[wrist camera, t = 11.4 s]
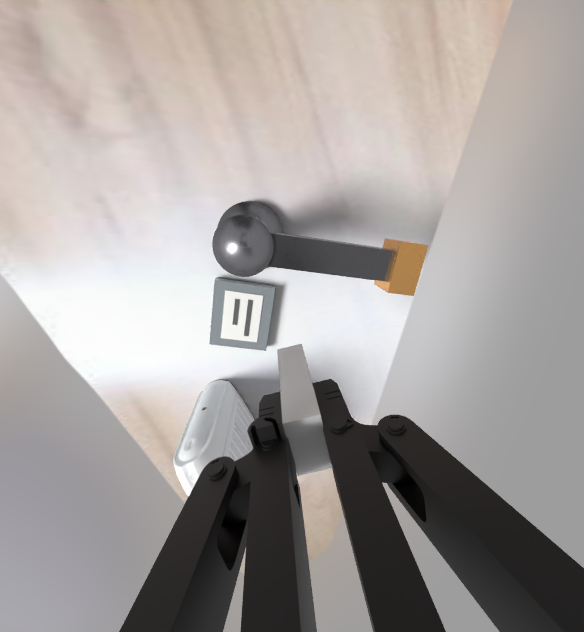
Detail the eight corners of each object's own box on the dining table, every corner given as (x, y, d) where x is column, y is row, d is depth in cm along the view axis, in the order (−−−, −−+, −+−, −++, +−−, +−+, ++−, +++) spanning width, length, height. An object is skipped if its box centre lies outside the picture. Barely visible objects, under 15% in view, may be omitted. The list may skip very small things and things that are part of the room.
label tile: (216, 277, 28) (214, 280, 27) (275, 286, 29) (275, 288, 28) (211, 340, 31) (209, 344, 30) (266, 346, 31) (265, 351, 30)
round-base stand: (220, 196, 26) (206, 189, 20) (289, 208, 27) (295, 206, 21) (215, 264, 28) (200, 278, 22) (279, 274, 29) (281, 289, 23)
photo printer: (195, 387, 33) (154, 482, 21) (228, 372, 32) (205, 460, 21) (237, 448, 36) (222, 559, 24) (267, 435, 36) (267, 541, 24)
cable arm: (217, 266, 21) (210, 273, 19) (220, 211, 20) (213, 210, 18) (396, 289, 23) (412, 298, 21) (409, 239, 22) (429, 242, 19)
